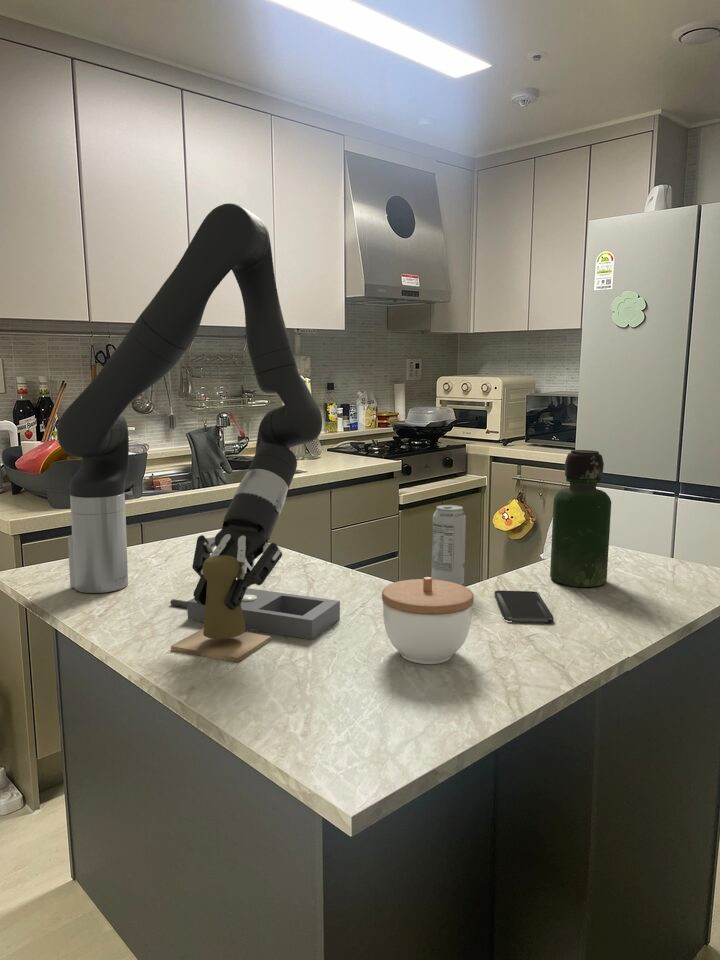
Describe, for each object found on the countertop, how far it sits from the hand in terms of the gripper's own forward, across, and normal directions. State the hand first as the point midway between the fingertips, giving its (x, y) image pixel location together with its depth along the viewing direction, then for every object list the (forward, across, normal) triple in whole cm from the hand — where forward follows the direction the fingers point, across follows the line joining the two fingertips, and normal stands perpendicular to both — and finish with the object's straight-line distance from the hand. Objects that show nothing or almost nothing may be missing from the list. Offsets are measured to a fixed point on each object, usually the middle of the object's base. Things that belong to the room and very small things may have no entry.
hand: (214, 604), depth 99 cm
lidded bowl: (-2, +28, +12) cm, 31 cm away
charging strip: (-5, -4, +14) cm, 16 cm away
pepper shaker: (+2, 0, +5) cm, 5 cm away
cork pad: (+4, 0, +6) cm, 7 cm away
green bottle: (-35, +44, +46) cm, 73 cm away
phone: (-20, +37, +31) cm, 52 cm away
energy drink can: (-25, +22, +36) cm, 49 cm away
